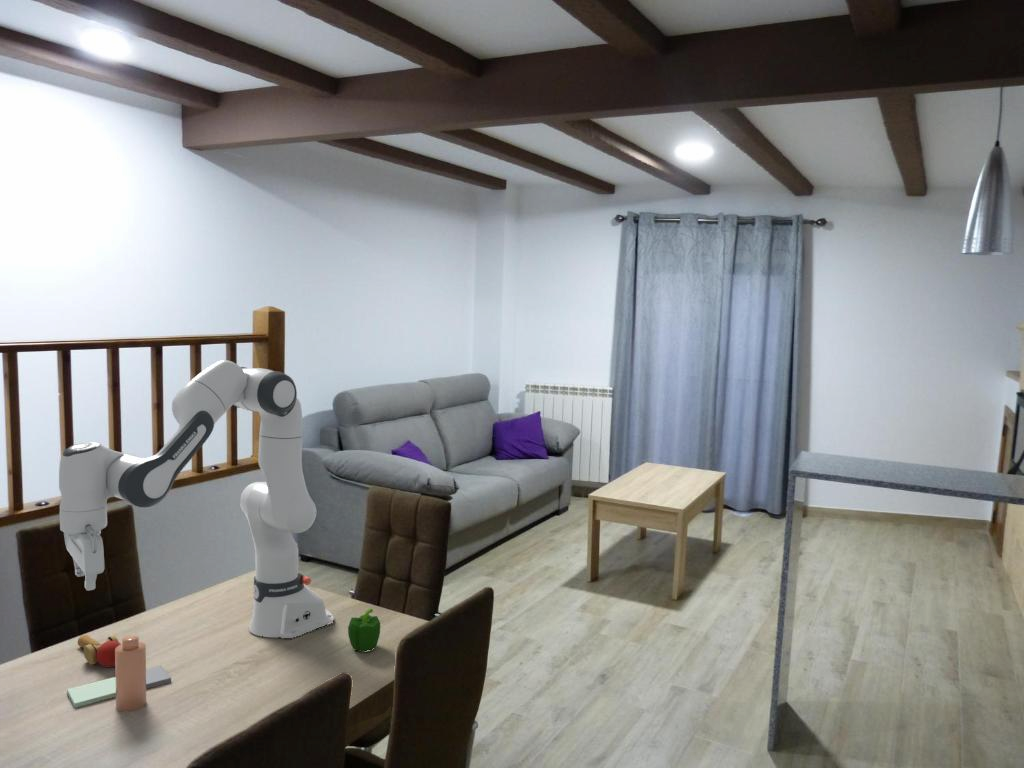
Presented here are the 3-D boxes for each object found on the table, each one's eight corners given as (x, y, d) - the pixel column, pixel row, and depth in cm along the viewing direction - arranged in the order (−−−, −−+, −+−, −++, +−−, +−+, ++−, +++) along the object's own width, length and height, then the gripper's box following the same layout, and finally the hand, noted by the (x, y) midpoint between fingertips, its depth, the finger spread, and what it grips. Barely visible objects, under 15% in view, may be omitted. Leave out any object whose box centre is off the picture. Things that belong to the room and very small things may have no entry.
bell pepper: (359, 659, 200) (360, 621, 199) (342, 647, 206) (343, 610, 205) (387, 650, 206) (388, 613, 205) (370, 638, 212) (371, 602, 211)
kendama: (64, 657, 197) (97, 671, 186) (67, 631, 198) (100, 643, 187) (97, 653, 203) (130, 666, 192) (99, 627, 204) (133, 639, 193)
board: (161, 669, 191) (161, 665, 190) (171, 681, 185) (171, 677, 185) (67, 693, 178) (67, 689, 178) (74, 707, 172) (74, 703, 172)
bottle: (141, 694, 179) (141, 630, 177) (149, 706, 174) (149, 640, 172) (112, 702, 175) (111, 637, 173) (120, 714, 170) (119, 647, 169)
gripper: (112, 529, 163) (113, 594, 165) (89, 506, 179) (90, 565, 181) (77, 534, 159) (79, 601, 161) (57, 510, 175) (59, 571, 177)
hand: (85, 582), depth 171 cm, fingers open, 8 cm apart
